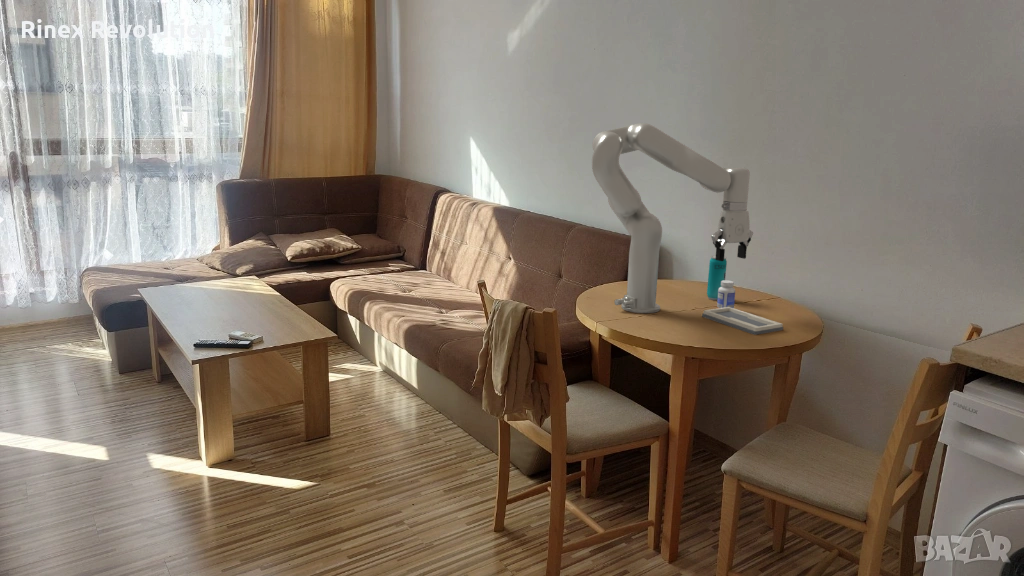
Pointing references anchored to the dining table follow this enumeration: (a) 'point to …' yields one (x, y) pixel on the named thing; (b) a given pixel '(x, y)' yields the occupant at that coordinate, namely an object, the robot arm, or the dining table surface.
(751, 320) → the grey flat rectangular tray
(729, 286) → the pill bottle
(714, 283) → the beverage can
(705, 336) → the dining table surface
